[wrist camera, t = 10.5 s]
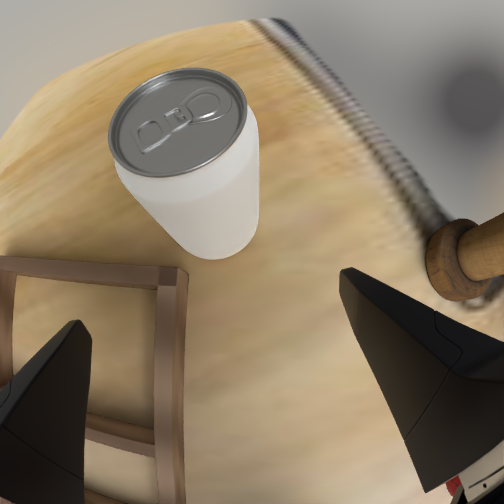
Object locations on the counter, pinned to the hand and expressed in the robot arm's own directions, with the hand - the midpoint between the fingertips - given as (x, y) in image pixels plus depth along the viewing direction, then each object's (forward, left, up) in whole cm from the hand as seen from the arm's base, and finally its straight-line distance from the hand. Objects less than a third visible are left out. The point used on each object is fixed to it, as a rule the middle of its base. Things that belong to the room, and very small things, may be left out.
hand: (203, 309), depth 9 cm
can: (+7, +2, -11) cm, 14 cm away
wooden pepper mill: (+4, -18, -11) cm, 22 cm away
